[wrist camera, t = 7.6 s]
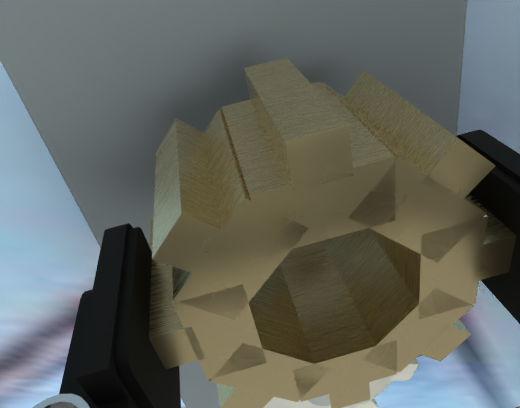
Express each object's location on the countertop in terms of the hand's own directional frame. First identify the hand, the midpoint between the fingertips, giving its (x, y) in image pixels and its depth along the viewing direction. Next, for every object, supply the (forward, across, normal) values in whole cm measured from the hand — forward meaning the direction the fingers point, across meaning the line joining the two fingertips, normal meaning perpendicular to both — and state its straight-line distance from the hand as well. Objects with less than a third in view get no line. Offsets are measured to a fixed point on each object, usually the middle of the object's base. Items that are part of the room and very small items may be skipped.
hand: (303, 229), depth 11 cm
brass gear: (+1, 0, 0) cm, 1 cm away
